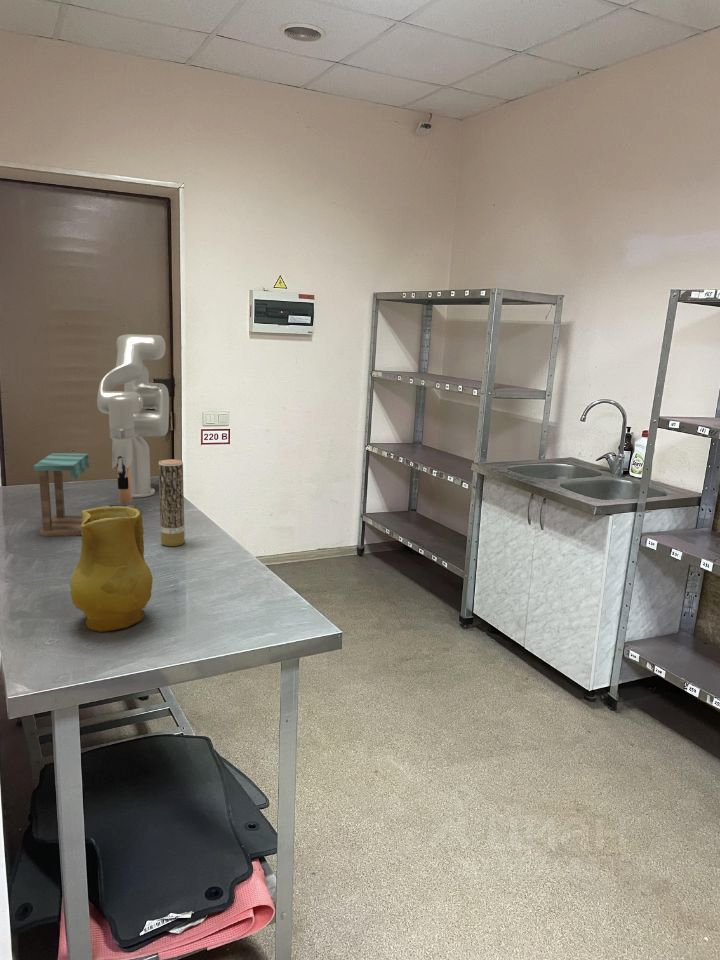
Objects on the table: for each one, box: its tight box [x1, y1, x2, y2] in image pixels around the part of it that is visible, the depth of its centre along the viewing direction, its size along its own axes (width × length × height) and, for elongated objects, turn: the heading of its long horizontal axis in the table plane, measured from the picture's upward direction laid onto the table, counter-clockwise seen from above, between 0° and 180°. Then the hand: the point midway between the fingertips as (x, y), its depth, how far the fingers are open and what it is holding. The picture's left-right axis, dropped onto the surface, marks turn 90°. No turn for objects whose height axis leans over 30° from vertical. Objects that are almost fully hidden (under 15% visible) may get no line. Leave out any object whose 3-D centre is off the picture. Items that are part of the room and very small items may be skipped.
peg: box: [116, 463, 133, 504], centre depth 226 cm, size 4×4×14 cm
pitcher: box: [69, 506, 153, 633], centre depth 149 cm, size 17×19×25 cm
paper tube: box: [158, 459, 185, 547], centre depth 200 cm, size 7×7×25 cm
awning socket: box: [33, 452, 137, 537], centre depth 212 cm, size 18×27×22 cm, turn 98°
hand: (124, 486), depth 226 cm, fingers closed on peg, 4 cm apart
